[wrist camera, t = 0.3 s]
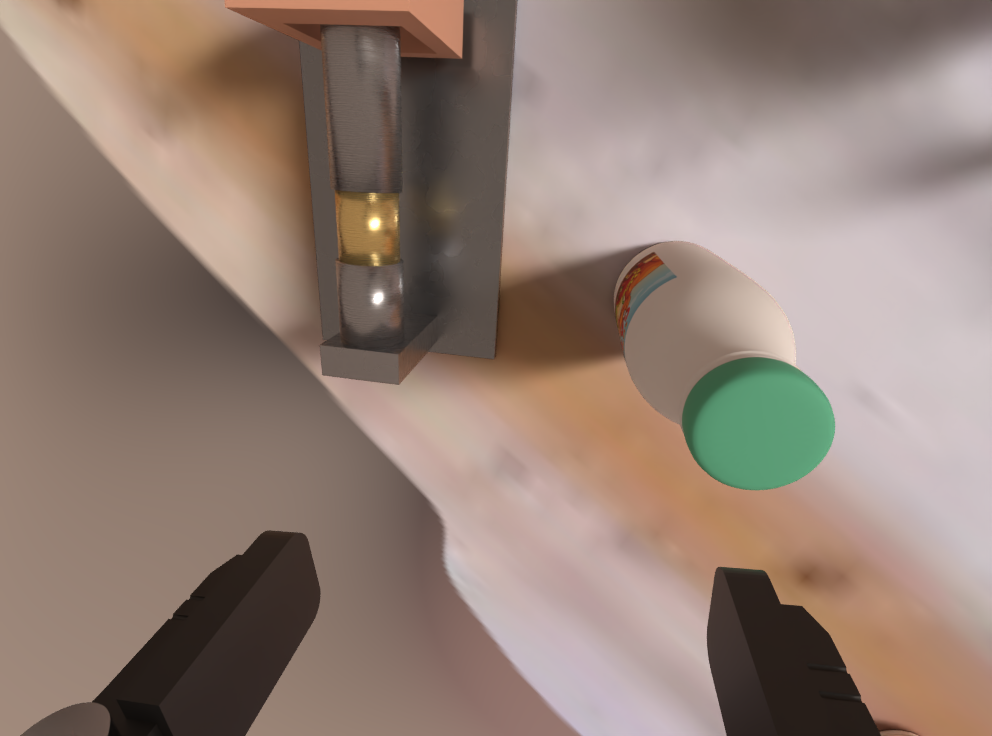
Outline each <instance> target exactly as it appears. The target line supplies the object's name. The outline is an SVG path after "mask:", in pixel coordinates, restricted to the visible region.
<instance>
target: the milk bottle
mask: <svg viewBox="0 0 992 736" xmlns="http://www.w3.org/2000/svg"><path fill="white" fill-rule="evenodd" d="M614 312H615V317H616V322H617V327H618V332H619V337H620V341H621V346H622V350H623V354H624V358H625V361H626V364H627V367H628V370H629V374H630V376H631V378H632V380H633V382H634V384H635V386H636V387H637V389H638V391H639V392H640V394H641V395H642V396H643V398H644V399H645V400H646V401H647V402H648V403H649V404H650V405H651V406H652V407H653V408H654V409H655V410H656V411H658V412H659V413H660V414H662V415H663V416H665V417H666V418H668V419H669V420H671V421H673V422H675V423H677V424H680V426H681V428H682V431H683V433H684V436H685V439H686V443H687V445H688V447H689V450H690V452H691V454H692V456H693V457H694V459H695V461H696V462H697V463H698V465H699V466H700V467H701V468H702V469H703V470H704V471H705V472H707V473H708V474H709V475H710V476H711V477H713V478H714V479H716V480H718V481H719V482H721V483H723V484H726V485H728V486H731V487H735V488H739V489H745V490H767V489H773V488H778V487H781V486H785V485H788V484H790V483H792V482H795V481H797V480H799V479H800V478H802V477H804V476H805V475H807V474H808V473H809V472H811V471H812V470H813V469H814V468H815V467H816V466H818V464H819V463H820V462H821V461H822V460H823V458H824V457H825V456H826V454H827V452H828V451H829V449H830V447H831V444H832V441H833V438H834V433H835V420H834V414H833V411H832V408H831V405H830V403H829V400H828V399H827V397H826V395H825V394H824V393H823V391H822V390H821V389H820V388H819V387H818V386H817V385H816V383H815V382H814V381H813V380H812V379H811V378H809V377H808V376H807V375H806V374H804V373H803V372H802V371H801V370H800V369H799V368H798V367H797V366H796V365H795V362H796V347H795V340H794V335H793V331H792V328H791V326H790V323H789V321H788V319H787V317H786V315H785V313H784V312H783V310H782V308H781V307H780V306H779V304H778V303H777V302H776V300H775V299H774V298H773V297H772V296H771V295H770V294H769V293H768V292H767V291H766V290H765V289H763V288H762V287H761V286H760V285H759V284H758V283H756V282H755V281H754V280H753V279H751V278H750V277H748V276H747V275H746V274H744V273H743V272H741V271H740V270H738V269H737V268H736V267H734V266H733V265H731V264H730V263H728V262H727V261H725V260H723V259H722V258H720V257H719V256H717V255H716V254H714V253H713V252H711V251H709V250H708V249H706V248H704V247H701V246H699V245H697V244H694V243H690V242H684V241H670V242H664V243H660V244H657V245H654V246H651V247H649V248H647V249H645V250H644V251H642V252H640V253H639V254H638V255H636V256H635V257H634V258H633V259H632V260H631V261H630V262H629V263H628V264H627V265H626V267H625V268H624V269H623V271H622V273H621V274H620V276H619V278H618V281H617V284H616V287H615V291H614Z"/></svg>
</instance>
